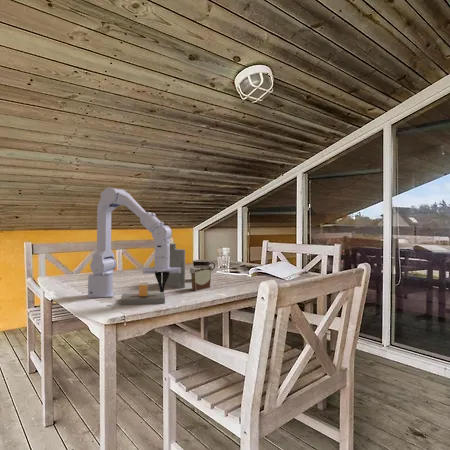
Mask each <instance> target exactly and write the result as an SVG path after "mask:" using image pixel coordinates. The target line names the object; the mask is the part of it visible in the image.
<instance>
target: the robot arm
mask: <svg viewBox="0 0 450 450" xmlns="http://www.w3.org/2000/svg"><path fill="white" fill-rule="evenodd" d="M120 206H125V207H126V208H128V209H129V210H130V211H131V212H132V213H133V214H135V216H137V217H138V218H139V221H140V224H141V225H142V226H143V227H144V228H145V229H146V230H147V231H148V232H150V233H151V237H152V238H153V241H154V267H143V268H142V274H144V275H145V274H154V276H155V278H156V280H157V283H158V286H159V293H161V292H165V286H166V285H165V284H166V281H167V279H168V277H169V273H181V267H169V266H170V244H171V238H172V236H173V230H172V229H171V227H170V226H169V225H166V224H165V223H164V221H161V220H160V219H159V218H158V217H157V215H156V213H155V212H150V211H146V210H145V209H144V208H143V207H142V206H141V205H140V203H138V202H137V201H136V200H135V199H134V198H133V196H132V195H131V194H130V192H129V193H128V191H127V190H125V189H123V188H113V187H106V188H105V189H104V190H102V191H101V192H100V199H99V202H98V204H97V207H96V208H97V209H96V251H95V252H94V253H93V254H92V259H91V262H90V266H89V268H90V270H91V272H92V273H91V274H89V275H88V279H87V299H88V298H89V299H90V298H92V299H95V298H113V297H114V295H115V291H114V289H113V288H114V285H113V284H114V270H115V269H116V267H117V260H116V258H115V252H114V251H113V250H112V212H113V211H115V209H116V208H118V207H120ZM162 271H165V272H162Z"/></svg>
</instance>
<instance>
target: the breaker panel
mask: <svg viewBox="0 0 450 450" xmlns="http://www.w3.org/2000/svg"><path fill="white" fill-rule="evenodd" d="M164 292H165V291H164ZM164 292H147V296H139V292H135V293H134V292H133V293H131V292H130V293H122V294H121V297H120V306H131V305H133V306H134V305H154V304H155V305H159V304H161V305H162V304H165V303H166V297H165V293H164Z"/></svg>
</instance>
